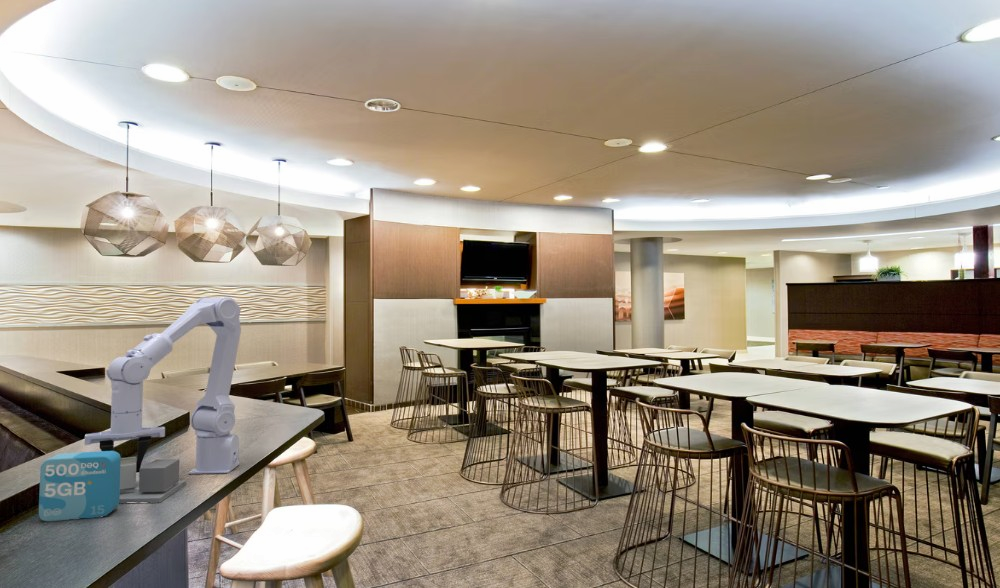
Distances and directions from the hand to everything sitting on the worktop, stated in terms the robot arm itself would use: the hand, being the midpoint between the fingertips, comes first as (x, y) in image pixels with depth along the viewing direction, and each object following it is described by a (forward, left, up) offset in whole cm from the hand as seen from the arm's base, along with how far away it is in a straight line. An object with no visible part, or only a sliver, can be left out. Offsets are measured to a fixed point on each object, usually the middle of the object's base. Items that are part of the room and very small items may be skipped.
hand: (124, 473), depth 120 cm
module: (0, 0, -3) cm, 3 cm away
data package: (+2, +12, -5) cm, 13 cm away
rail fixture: (0, 0, -5) cm, 5 cm away
